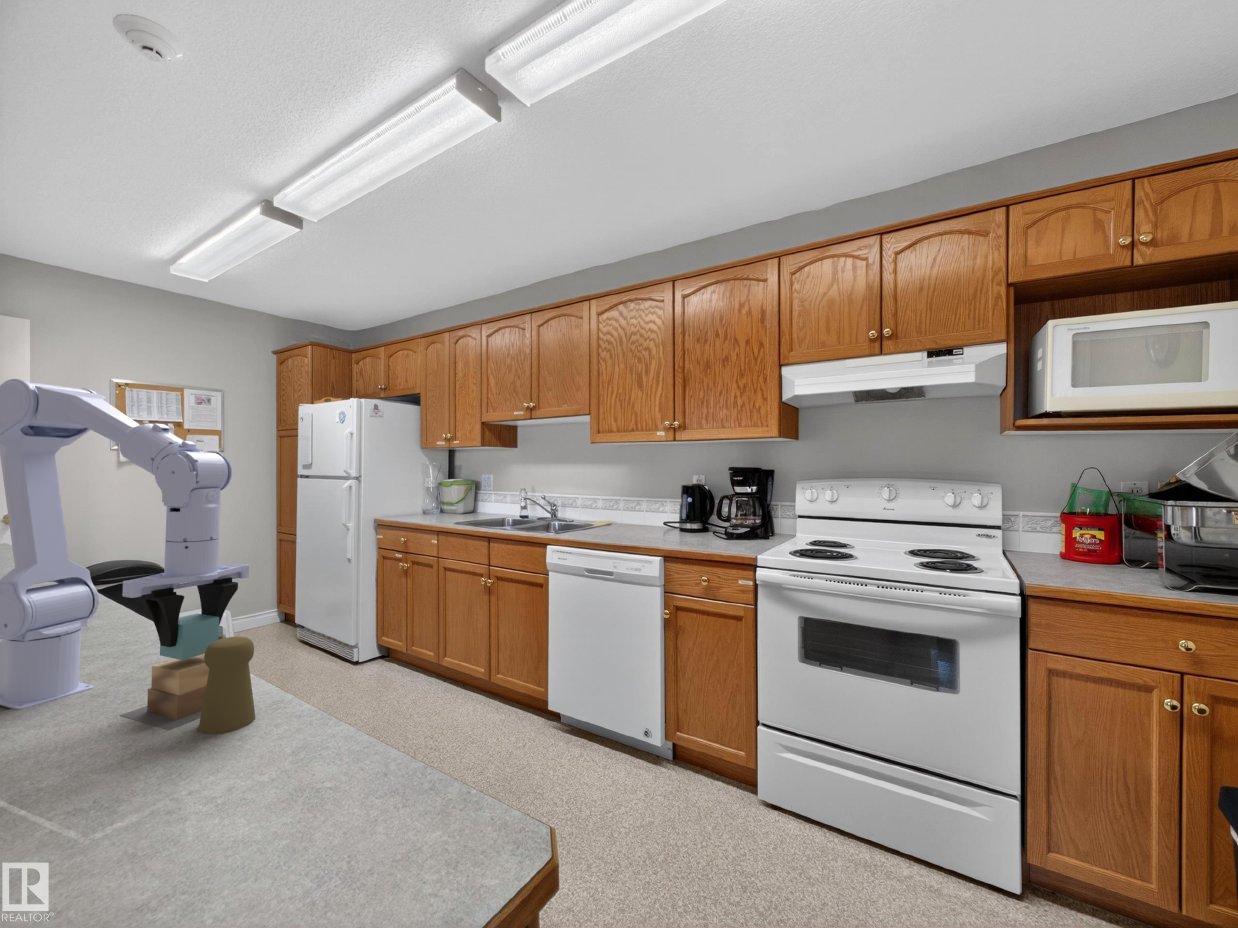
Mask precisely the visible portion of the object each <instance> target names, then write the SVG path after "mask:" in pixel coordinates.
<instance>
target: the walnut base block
mask: <svg viewBox="0 0 1238 928" xmlns="http://www.w3.org/2000/svg"><path fill="white" fill-rule="evenodd" d="M205 690H206V686H204V687H201V688H198V689H195V690H193V691H190V692H187V693H184V694H181V695H175V694H171V693H167V692H163V691H159V690H155V689H151V687H149V688H148V689H147V702H146V706H147V712H150V713H154V714H157V715H161V716H164V717H168V718H172V719H175V720H178V719H181V718H183V717H186V716H188V715H191V714H194V713H196V712H199V711H202V706H203V701H204V696H205Z"/></svg>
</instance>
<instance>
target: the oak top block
mask: <svg viewBox="0 0 1238 928" xmlns="http://www.w3.org/2000/svg"><path fill="white" fill-rule="evenodd" d="M208 674H209V668H208V666H207V665H206V664H205V661H204V654H202V655H199V656H195V657H192V658H188V659H185V660H179V659H174V658H173V659H172V660H168V661H164V662H161V663H157V664H153V665H151V687H150V688H151V689H155V690H159V691H163V692H167V693H171V694H175V695H181V694H184V693H187V692H190V691H193V690H195V689H198V688H201V687H204V686H206V685H207V680H208Z"/></svg>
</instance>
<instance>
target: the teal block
mask: <svg viewBox="0 0 1238 928" xmlns="http://www.w3.org/2000/svg"><path fill="white" fill-rule="evenodd" d="M219 637H220V625H219V617H216V616H210V615H204V614H201V613H193V614H188V615H184V616H179V620H178V638H177V643H176V646H173V647H166V646H161V645H160V644H159V645H160V646H159V656H161V657H164V658H170V659H173V660H174V659H179V660H185V659H188V658H192V657H195V656H199V655H202V654H205V651H206V648H207V647H208V646H209V644H211V643H212V642H214V641H216V640H219Z"/></svg>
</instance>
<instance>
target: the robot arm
mask: <svg viewBox="0 0 1238 928" xmlns="http://www.w3.org/2000/svg"><path fill="white" fill-rule="evenodd" d="M91 431H92V432H94V433H96V434H99V435H100V436H103V437H104V438H106V439H109V440H110V441H113V442H114V443H117V444H118V445H119V451H120V454H121V455H122V457H124V458H125V459H127V460H128V461H130V462H131V463H132V464H134V465H136V466H138V467H140V468H141V469H143V470H145V471H147V472H148V473H150V474H152V475H153V476H154V479H155V482H156V484H157V487H159V489H160V492H161V502H162V503H163V506H164V507H166V510H165V511H166V517H165V519H166V520H165V542H164V545H165V546H164V547H165V548H164V572H161V573H157V574H152V575H149V576H142V577H139V578H138V577H137V578H134V579H129V580H123V581H122V597H123V598H129V599H131V598H132V599H135V598H138V599H139V601H140V603H142V605H143V606H144V608H145V609H146V611H147V612H148V614H149V615H150V618H151V619H152V621H153V624H154V626H155V629H156V631H157V636H158V640H159V645H161V646H166V647H173V646H176V643H177V638H178V620H179V617H180V613H181V609H182V606H183V602H184V600H185V596H184V595H182V594H178V593H177V591H175V590H179V589H185V588H190V587H197V591H198V595H199V600H200V609H201V613H200V614H204V615H210V616H216V617H219V626H220V625H221V622H222V619H223V616H224V614H225V612H226V609H227V607H228V605H229V603H230V602H231V600H232V598H233V596H234V595H235V594H236V592H237V591H238V590H239V582H237V581H233V580H237V579H249V578H250V564H247V563H246V564H245V563H235V564H225V565H219V549H220V548H219V547H220V545H219V543H220V542H219V541H220V539H219V538H220V519H221V518H220V516H221V515H220V514H221V512H220V511H221V492H222V491H223V490H224V489H226V488H227V487H228V486H229V484H230V482H231V480H232V475H233V471H232V470H233V468H232V466H231V463H230V461H229V459H227V457H226V456H225V455H223V454H222V452H220V451H215V450H207V451H202V450H200V449H199V448H197V444H196V443H195V442H192V441H190V440H184V439H183V438H180V437H179V436H176V435H175V434H173V433H172V432H170V431H171V427H169V426H168V425H166V424H164V423H144V424H139V422H137V421H135V420H134V419H132V418H130V417H129V416H128V415H126V414H125V413H123V412H122V411H120V410H119V409H118V408H116V407H115V406H113V405H112V404H110V403H108V400H107V397H106V396H105V395H102V394H99V393H97V392H96V391H94V390H92V389H89V388H82V387H81V388H76V387H71V386H70V387H69V386H62V385H54V384H48V383H40V382H34V381H33V382H32V381H26V380H23V379H21V378H10V379H8V380H5V381H4V382H2V384H0V465H1V472H2V479H3V480H2V481H3V487H4V488H3V489H4V494H5V502H6V509H7V516H8V518H7V519H8V524H9V532H10V537H11V538H10V539H11V546H12V552H13V554H12V556H13V562H14V568H13V569H11V570H10V571H9V572H7V573H6V574H5V575H4V576H2V577H1V578H0V640H1V641H0V706H2V707H6V708H8V709H15V710H19V711H20V710H24V709H28V708H30V707H35V706H38V705H43V704H45V703H48V702H52V701H56V700H58V699H62V698H65V697H69V696H72V695H76V694H79V693H83V692H86V691H90V690H93V689H94V688H95V686H94V685H92V684H88V683H84V682H81V681H80V675H81V673H80V671H81V647H82V646H81V645H82V644H81V643H82V642H81V641H82V640H81V639H82V629H83V628H84V627H85V628H86V627H88V621H89V620H90V619H91V618H93V616H94V615H96V613H97V611H98V609H99V604H100V596H99V595H100V594H99V592H98V590H97V588H96V586H95V585H94V583H93V581H92V578H91V572H90V570H89V569H88V568H86V567H85V566H83V565H81V564H78V563H77V562H75V561H73V560H71V559H70V556H69V548H68V541H67V533H66V527H65V519H64V512H63V505H62V504H63V503H62V498H61V490H60V484H59V477H58V468H57V461H56V460H57V459H56V454H57V453H58V451H60V449H62V448H63V447H66V446H70V445H72V444H73V443H75V442H76V441H77V440H79V439H80V438H82V437H83V436H85V435H86V434H88V433H89V432H91ZM51 582H52V583H55V584H49V585H41V586H37V587H32V586H33V585H36V584H37V585H38V584H43V583H51ZM31 587H32V588H31Z"/></svg>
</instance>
